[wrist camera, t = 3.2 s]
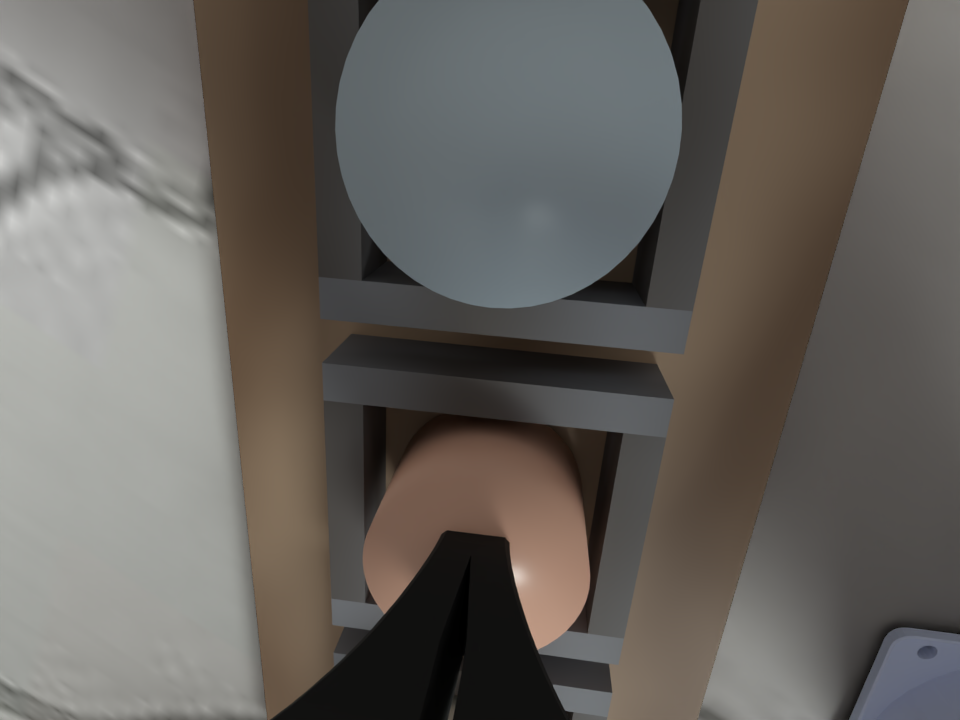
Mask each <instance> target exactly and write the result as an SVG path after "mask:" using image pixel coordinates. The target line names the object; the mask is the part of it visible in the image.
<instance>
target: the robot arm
mask: <svg viewBox="0 0 960 720" xmlns="http://www.w3.org/2000/svg"><path fill="white" fill-rule="evenodd" d="M462 660H463V667H462V672H461V678H460V684H459V689H458V695H457V700H456V705H455V711H454V716H453V720H570V719H569V717H568V715H567V713H566V711H565V709H564V707H563V705H562V703H561V701H560V700H559V697H558V695H557V693H556V691H555V689H554V687H553V685H552V683H551V681H550V679H549V676H548V674H547V672H546V669H545V667H544V665H543V662H542V660H541V658H540V655H539V653H538V650H537V648H536V645H535V642H534V640H533V637H532V635H531V632H530V629H529V626H528V623H527V620H526V617H525V614H524V611H523V607H522V604H521V601H520V598H519V594H518V591H517V587H516V583H515V578H514V574H513V569H512V564H511V557H510V542H509V541H508V540H507V539H506V538H505V537H498V536H490V535H482V534H474V533H466V532H458V531H450V530H447V531H445V532H444V533H442V534H441V536H440V538H439V540H438V542H437V543H436V545H435V547H434V549H433V550H432V552H431V553H430V555H429V556H428V558H427V559H426V561H425V562H424V564H423V565H422V567H421V568H420V570H419V571H418V573H417V574H416V575H415V577H414V578H413V579H412V581H411V582H410V583H409V585H408V586H407V587H406V588H405V590H404V591H403V592H402V594H401V595H400V596H399V598H398V599H397V600H396V601H395V603H394V604H393V605H392V606H391V607H390V608H389V609H388V611H387V612H386V613H385V614H384V615H383V616H382V618H381V619H380V620H379V621H378V622H377V623H376V625H375V626H374V627H373V628H372V629H371V630H370V631H369V632H368V633H367V634H366V636H365V637H364V638H363V639H362V640H361V641H360V642H359V643H358V644H357V645H356V646H355V647H354V648H353V649H352V650H351V651H350V652H349V653H348V654H347V655H346V656H345V657H344V658H343V659H342V660H341V661H340V662H339V663H338V664H336V665H335V666H334V667H333V668H332V669H331V670H330V671H329V672H328V673H326V674H325V675H324V676H323V677H322V678H321V679H320V680H319V681H318V682H316V683H315V684H314V685H313V686H312V687H311V688H310V689H308V690H307V691H306V692H305V693H304V694H302V695H301V696H300V697H299V698H298V699H296V700H295V701H294V702H293V703H291V704H290V705H289V706H288V707H286V708H285V709H284V710H282V711H281V712H280V713H278V714H277V715H276V716H274V717H273V718H272V719H270V720H448V717H449V713H450V709H451V705H452V701H453V697H454V693H455V688H456V684H457V680H458V676H459V672H460V668H461V664H462ZM849 720H960V634H953V633H946V632H938V631H930V630H923V629H915V628H897V629H893V630H892V631H890V632H889V633H888V634H887V635H886V637H885V638H884V640H883V643H882V645H881V647H880V650H879V652H878V654H877V657H876V659H875V661H874V663H873V666H872V668H871V670H870V673H869V675H868V677H867V680H866V682H865V684H864V686H863V689H862V691H861V693H860V696H859V698H858V700H857V703H856V705H855V707H854V709H853V712H852V714H851V716H850V719H849Z"/></svg>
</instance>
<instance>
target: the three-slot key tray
mask: <svg viewBox="0 0 960 720" xmlns="http://www.w3.org/2000/svg"><path fill="white" fill-rule="evenodd" d="M193 1H194V11H195V20H196V30H197V40H198V50H199V59H200V69H201V79H202V88H203V98H204V108H205V118H206V127H207V137H208V147H209V157H210V166H211V176H212V186H213V195H214V205H215V215H216V225H217V234H218V244H219V254H220V264H221V273H222V283H223V293H224V302H225V312H226V322H227V332H228V341H229V351H230V361H231V371H232V380H233V390H234V400H235V409H236V419H237V429H238V439H239V448H240V458H241V468H242V477H243V487H244V497H245V507H246V516H247V526H248V536H249V546H250V555H251V565H252V575H253V584H254V594H255V604H256V614H257V623H258V633H259V643H260V653H261V662H262V672H263V682H264V691H265V701H266V711H267V720H270V719H272V718H273V717H274V716H276V715H277V714H278V713H280V712H281V711H282V710H284V709H285V708H286V707H288V706H289V705H290V704H291V703H293V702H294V701H295V700H296V699H298V698H299V697H300V696H301V695H302V694H304V693H305V692H306V691H307V690H308V689H310V688H311V687H312V686H313V685H314V684H315V683H316V682H318V681H319V680H320V679H321V678H322V677H323V676H324V675H325V674H326V673H328V672H329V671H330V670H331V669H332V668H333V667H334V666H335V665H336V664H338V663H339V662H340V661H341V660H342V659H343V658H344V657H345V656H346V655H347V654H348V653H349V652H350V651H351V650H352V649H353V648H354V647H355V646H356V645H357V644H358V643H359V642H360V641H361V640H362V639H363V638H364V637H365V636H366V634H367V633H368V632H369V631H370V630H371V629H372V628H373V627H374V626H375V625H376V623H377V622H378V621H379V620H380V619H381V618H382V616H383V615H384V613H383V612H382V610H381V609H380V608H379V606H378V605H377V603H376V602H375V600H374V598H373V596H372V595H371V593H370V590H369V588H368V585H367V583H366V579H365V575H364V570H363V547H364V543H365V539H366V535H367V533H368V530H369V528H370V526H371V523H372V521H373V519H374V517H375V515H376V512H377V510H378V508H379V506H380V504H381V501H382V499H383V497H384V495H385V493H386V490H387V488H388V486H389V484H390V482H391V480H392V477H393V475H394V473H395V471H396V469H397V466H398V464H399V462H400V460H401V458H402V455H403V453H404V451H405V449H406V447H407V445H408V444H409V442H410V440H411V439H412V438H413V436H414V435H415V434H416V433H417V432H418V430H420V429H421V428H422V427H423V426H424V425H425V424H426V423H428V422H429V421H431V420H432V419H434V418H435V417H437V416H439V415H441V414H443V413H444V414H453V415H462V416H472V417H481V418H490V419H499V420H508V421H517V422H527V423H536V424H545V425H547V426H549V427H550V428H551V429H553V430H554V431H555V432H556V433H557V434H558V435H559V436H560V437H561V438H562V440H563V441H564V442H565V443H566V445H567V446H568V447H569V449H570V451H571V452H572V454H573V456H574V458H575V460H576V463H577V465H578V468H579V472H580V477H581V485H582V495H583V506H584V516H585V526H586V536H587V546H588V556H589V567H590V586H589V592H588V596H587V600H586V602H585V605H584V607H583V609H582V611H581V613H580V614H579V616H578V617H577V619H576V620H575V622H574V623H573V624H572V625H571V626H570V627H569V629H568V630H567V631H566V632H564V633H563V634H562V635H561V636H560V637H558V638H557V639H556V640H554V641H553V642H551V643H549V644H548V645H546V646H544V647H542V648H540V649H538V653H539V655H540V658H541V660H542V662H543V665H544V667H545V669H546V672H547V674H548V676H549V679H550V681H551V683H552V685H553V687H554V689H555V691H556V693H557V695H558V697H559V700H560V701H561V703H562V705H563V707H564V709H565V711H566V713H567V715H568V717H569V719H570V720H697V719H698V716H699V712H700V709H701V706H702V702H703V699H704V695H705V692H706V689H707V685H708V682H709V678H710V675H711V672H712V668H713V665H714V661H715V658H716V655H717V651H718V648H719V644H720V641H721V638H722V634H723V631H724V627H725V624H726V621H727V617H728V614H729V610H730V607H731V604H732V600H733V597H734V593H735V590H736V587H737V583H738V580H739V576H740V573H741V570H742V566H743V563H744V559H745V556H746V553H747V549H748V546H749V542H750V539H751V536H752V532H753V529H754V525H755V522H756V519H757V515H758V512H759V508H760V505H761V502H762V498H763V495H764V491H765V488H766V485H767V481H768V478H769V474H770V471H771V468H772V464H773V461H774V457H775V454H776V451H777V447H778V444H779V440H780V437H781V434H782V430H783V427H784V423H785V420H786V417H787V413H788V410H789V406H790V403H791V400H792V396H793V393H794V389H795V386H796V383H797V379H798V376H799V372H800V369H801V366H802V362H803V359H804V355H805V352H806V349H807V345H808V342H809V338H810V335H811V332H812V328H813V325H814V321H815V318H816V315H817V311H818V308H819V304H820V301H821V298H822V294H823V291H824V287H825V284H826V281H827V277H828V274H829V270H830V267H831V264H832V260H833V257H834V253H835V250H836V247H837V243H838V240H839V236H840V233H841V230H842V226H843V223H844V219H845V216H846V213H847V209H848V206H849V202H850V199H851V196H852V192H853V189H854V185H855V182H856V179H857V175H858V172H859V168H860V165H861V162H862V158H863V155H864V151H865V148H866V145H867V141H868V138H869V134H870V131H871V128H872V124H873V121H874V117H875V114H876V111H877V107H878V104H879V100H880V97H881V94H882V90H883V87H884V83H885V80H886V77H887V73H888V70H889V66H890V63H891V60H892V56H893V53H894V49H895V46H896V43H897V39H898V36H899V32H900V29H901V26H902V22H903V19H904V15H905V12H906V9H907V5H908V2H909V0H643V2H644V3H645V4H646V5H647V7H648V8H649V10H650V11H651V13H652V15H653V16H654V18H655V20H656V21H657V23H658V25H659V26H660V28H661V30H662V32H663V35H664V37H665V39H666V42H667V44H668V46H669V49H670V51H671V54H672V57H673V61H674V65H675V68H676V72H677V76H678V80H679V87H680V95H681V102H682V133H681V142H680V150H679V156H678V160H677V164H676V169H675V173H674V177H673V180H672V183H671V185H670V188H669V190H668V193H667V196H666V198H665V201H664V203H663V205H662V207H661V209H660V210H659V212H658V214H657V216H656V218H655V220H654V222H653V223H652V225H651V226H650V228H649V229H648V231H647V232H646V233H645V235H644V236H643V238H642V239H641V241H640V242H639V243H638V244H637V245H636V246H635V247H634V249H633V250H632V251H631V252H630V253H629V254H628V255H627V256H626V258H625V259H623V260H622V261H621V262H620V263H619V264H618V265H617V266H615V267H614V268H613V269H612V270H611V271H610V272H609V273H607V274H606V275H604V276H603V277H601V278H600V279H598V280H597V281H595V282H594V283H593V284H591V285H589V286H587V287H585V288H583V289H582V290H580V291H578V292H576V293H574V294H572V295H569V296H566V297H564V298H561V299H558V300H555V301H553V302H549V303H545V304H540V305H536V306H531V307H521V308H489V307H482V306H476V305H470V304H467V303H463V302H460V301H456V300H453V299H450V298H448V297H445V296H443V295H441V294H438V293H436V292H434V291H432V290H430V289H428V288H427V287H425V286H423V285H422V284H420V283H418V282H416V281H415V280H413V279H412V278H411V277H410V276H408V275H407V274H406V273H404V272H403V271H402V270H400V269H399V268H398V267H397V266H396V265H395V264H394V263H393V262H392V261H391V260H390V259H389V258H388V257H387V256H386V255H385V254H384V253H383V252H382V251H381V250H380V248H379V247H378V246H377V245H376V243H375V242H374V241H373V240H372V238H371V237H370V236H369V234H368V232H367V231H366V229H365V228H364V226H363V224H362V223H361V221H360V220H359V218H358V216H357V214H356V212H355V209H354V207H353V205H352V203H351V201H350V199H349V196H348V193H347V190H346V187H345V184H344V181H343V178H342V174H341V170H340V165H339V160H338V155H337V145H336V133H335V121H336V103H337V96H338V90H339V83H340V79H341V76H342V72H343V68H344V65H345V61H346V58H347V56H348V53H349V51H350V48H351V46H352V44H353V41H354V39H355V37H356V35H357V33H358V31H359V29H360V28H361V26H362V24H363V22H364V21H365V19H366V17H367V16H368V14H369V12H370V11H371V10H372V9H373V7H374V6H375V5H376V3H377V2H378V1H379V0H193ZM462 667H463V660H462V664H461V668H460V672H459V676H458V680H457V684H456V688H455V693H454V695H458V689H459V684H460V678H461V672H462Z"/></svg>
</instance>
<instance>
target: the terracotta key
mask: <svg viewBox="0 0 960 720" xmlns="http://www.w3.org/2000/svg"><path fill="white" fill-rule="evenodd" d="M447 530H450V531H458V532H466V533H474V534H482V535H490V536H498V537H505V538H506V539H507V540H508V541H509V542H510V557H511V564H512V569H513V574H514V578H515V583H516V587H517V591H518V594H519V598H520V601H521V604H522V607H523V611H524V614H525V617H526V620H527V623H528V626H529V629H530V632H531V635H532V637H533V640H534V642H535V645H536V648H537V650H538V649H540V648H542V647H544V646H546V645H548V644H549V643H551V642H553V641H554V640H556V639H557V638H558V637H560V636H561V635H562V634H563V633H564V632H566V631H567V630H568V629H569V627H570V626H571V625H572V624H573V623H574V622H575V620H576V619H577V617H578V616H579V614H580V613H581V611H582V609H583V607H584V605H585V602H586V600H587V596H588V592H589V586H590V567H589V556H588V546H587V536H586V526H585V516H584V506H583V495H582V485H581V477H580V472H579V468H578V465H577V463H576V460H575V458H574V456H573V454H572V452H571V451H570V449H569V447H568V446H567V445H566V443H565V442H564V441H563V440H562V438H561V437H560V436H559V435H558V434H557V433H556V432H555V431H554V430H553V429H551V428H550V427H549V426H547V425H545V424H536V423H527V422H517V421H508V420H499V419H490V418H481V417H472V416H462V415H453V414H444V413H443V414H441V415H439V416H437V417H435V418H434V419H432V420H431V421H429V422H428V423H426V424H425V425H424V426H423V427H422V428H421V429H420V430H418V432H417V433H416V434H415V435H414V436H413V438H412V439H411V440H410V442H409V444H408V445H407V447H406V449H405V451H404V453H403V455H402V458H401V460H400V462H399V464H398V466H397V469H396V471H395V473H394V475H393V477H392V480H391V482H390V484H389V486H388V488H387V490H386V493H385V495H384V497H383V499H382V501H381V504H380V506H379V508H378V510H377V512H376V515H375V517H374V519H373V521H372V523H371V526H370V528H369V530H368V533H367V535H366V539H365V543H364V547H363V570H364V575H365V579H366V583H367V585H368V588H369V590H370V593H371V595H372V596H373V598H374V600H375V602H376V603H377V605H378V606H379V608H380V609H381V610H382V612H383V613H384V614H385V613H386V612H387V611H388V609H389V608H390V607H391V606H392V605H393V604H394V603H395V601H396V600H397V599H398V598H399V596H400V595H401V594H402V592H403V591H404V590H405V588H406V587H407V586H408V585H409V583H410V582H411V581H412V579H413V578H414V577H415V575H416V574H417V573H418V571H419V570H420V568H421V567H422V565H423V564H424V562H425V561H426V559H427V558H428V556H429V555H430V553H431V552H432V550H433V549H434V547H435V545H436V543H437V542H438V540H439V538H440V536H441V534H442V533H444V532H445V531H447Z"/></svg>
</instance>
